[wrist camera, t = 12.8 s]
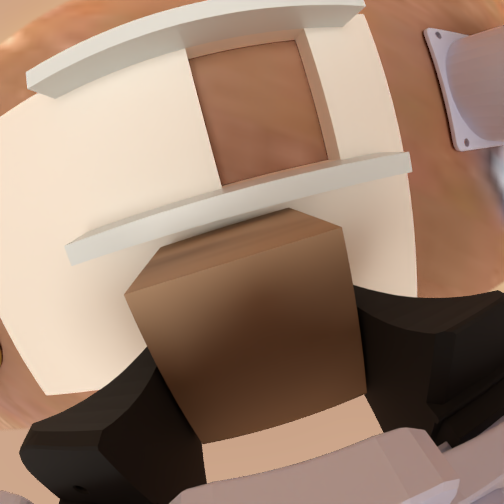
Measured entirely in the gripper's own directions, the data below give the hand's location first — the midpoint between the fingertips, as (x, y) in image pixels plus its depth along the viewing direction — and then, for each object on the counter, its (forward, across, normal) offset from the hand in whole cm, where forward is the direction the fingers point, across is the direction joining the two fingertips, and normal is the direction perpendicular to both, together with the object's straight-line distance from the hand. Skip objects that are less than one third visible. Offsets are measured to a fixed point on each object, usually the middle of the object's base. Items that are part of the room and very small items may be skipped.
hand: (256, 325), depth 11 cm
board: (+4, +2, -4) cm, 7 cm away
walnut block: (+1, 0, -1) cm, 2 cm away
